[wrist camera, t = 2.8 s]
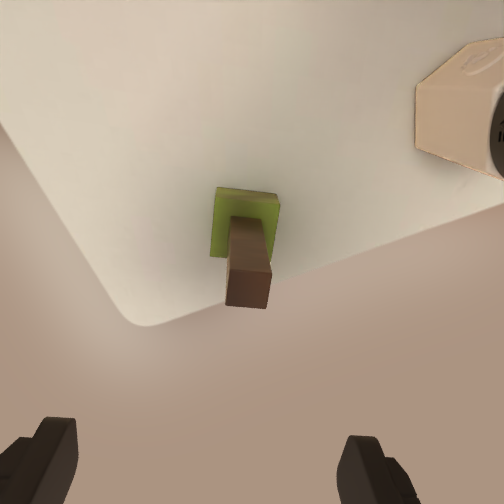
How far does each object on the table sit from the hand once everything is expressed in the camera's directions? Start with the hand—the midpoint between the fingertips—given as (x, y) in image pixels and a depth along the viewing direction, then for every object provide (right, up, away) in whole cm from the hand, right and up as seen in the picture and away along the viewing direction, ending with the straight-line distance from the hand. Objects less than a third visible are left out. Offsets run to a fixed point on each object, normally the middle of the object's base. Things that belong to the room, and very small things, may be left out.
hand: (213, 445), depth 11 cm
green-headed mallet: (0, +9, +21) cm, 22 cm away
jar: (+18, +17, +18) cm, 30 cm away
